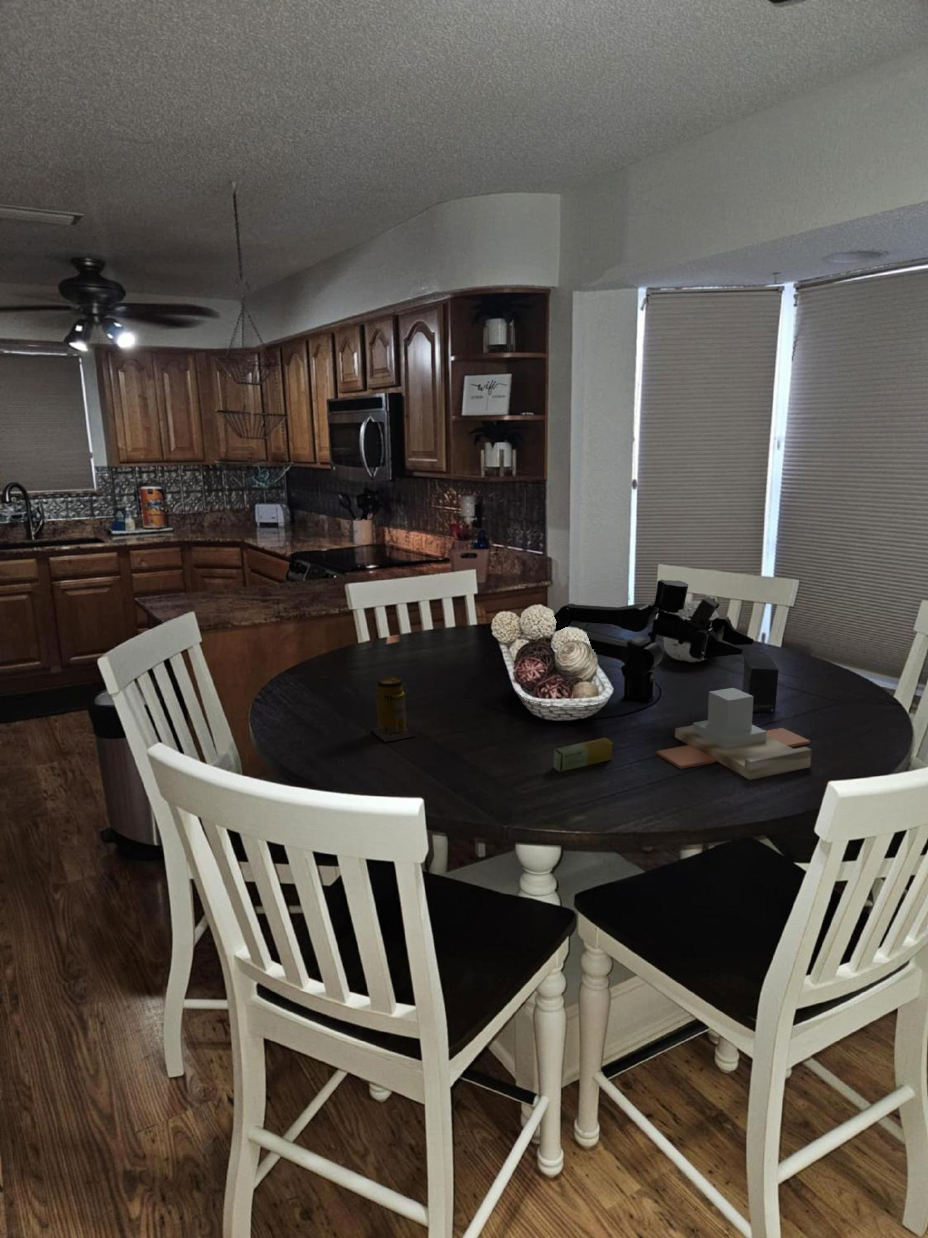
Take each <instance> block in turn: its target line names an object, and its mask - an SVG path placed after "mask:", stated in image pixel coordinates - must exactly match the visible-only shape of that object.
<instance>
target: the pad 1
mask: <svg viewBox="0 0 928 1238" xmlns="http://www.w3.org/2000/svg"><path fill="white" fill-rule="evenodd" d="M656 755H658V756H659V757H660V758H662V759H664V760H665V761H667V762H669V763H670V764H672V765H674V766H675V767H677V768H678V769H680V770H683V769H689V768H692V767H699V766H702V765H707V764H713V763H716V762H717V761H716V759H715V758H713V757H711V756H710V755H708V754H706V753H704V752H702V751H701V750H699V749H697V748H695V747H694V746H692V745H688V744H686V745H682V746H675V747H672V748H668V749H667V748H666V749H662V750H661V749H660V750H657V751H656Z"/></svg>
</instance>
